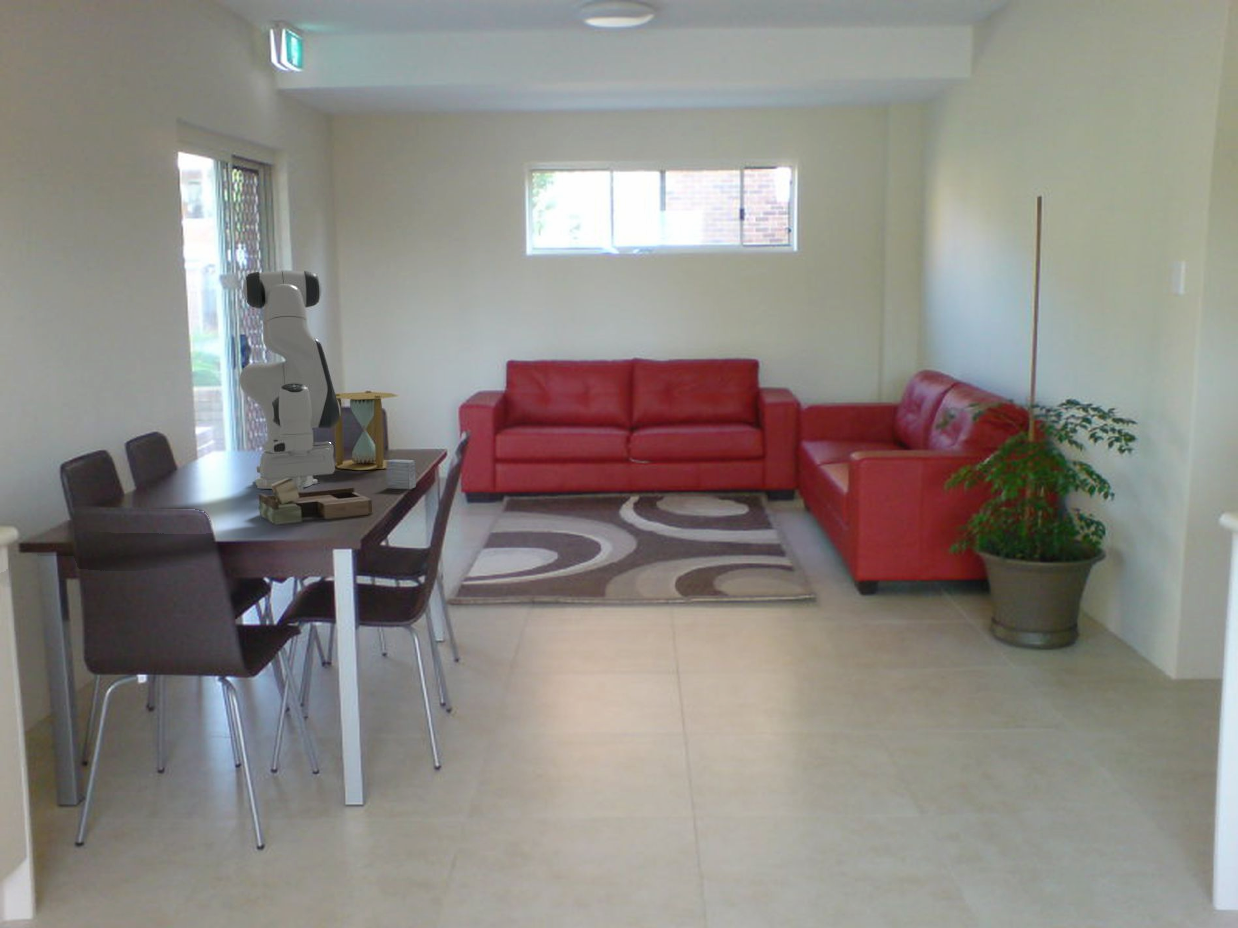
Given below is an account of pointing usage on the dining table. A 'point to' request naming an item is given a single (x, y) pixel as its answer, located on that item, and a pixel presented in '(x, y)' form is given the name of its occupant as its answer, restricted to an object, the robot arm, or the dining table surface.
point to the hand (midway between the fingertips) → (299, 492)
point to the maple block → (285, 491)
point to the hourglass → (365, 449)
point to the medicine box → (400, 474)
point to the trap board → (315, 506)
